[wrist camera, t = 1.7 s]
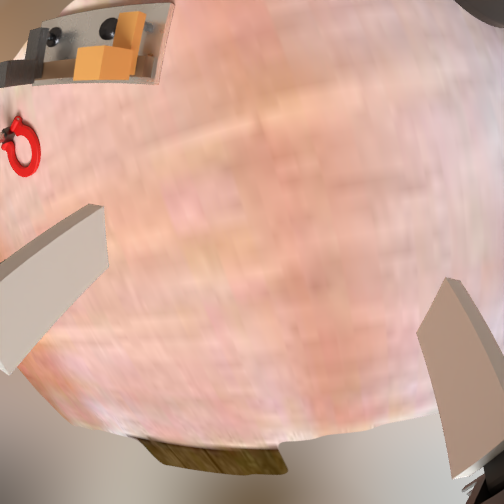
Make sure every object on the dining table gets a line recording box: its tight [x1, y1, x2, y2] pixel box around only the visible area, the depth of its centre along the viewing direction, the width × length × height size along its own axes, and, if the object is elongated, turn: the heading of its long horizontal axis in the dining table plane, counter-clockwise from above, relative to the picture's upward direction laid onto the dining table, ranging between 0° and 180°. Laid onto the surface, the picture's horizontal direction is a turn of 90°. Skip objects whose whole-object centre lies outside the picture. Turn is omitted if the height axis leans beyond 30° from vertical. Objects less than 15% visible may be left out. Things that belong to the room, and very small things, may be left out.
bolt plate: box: [32, 3, 175, 86], centre depth 26 cm, size 10×21×3 cm, turn 79°
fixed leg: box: [0, 27, 54, 88], centre depth 23 cm, size 8×3×8 cm, turn 169°
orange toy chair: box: [73, 11, 147, 81], centre depth 22 cm, size 8×3×8 cm, turn 169°
